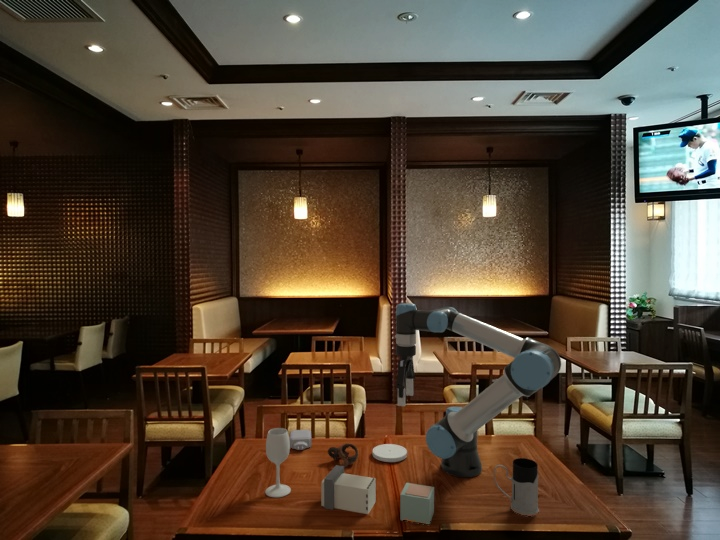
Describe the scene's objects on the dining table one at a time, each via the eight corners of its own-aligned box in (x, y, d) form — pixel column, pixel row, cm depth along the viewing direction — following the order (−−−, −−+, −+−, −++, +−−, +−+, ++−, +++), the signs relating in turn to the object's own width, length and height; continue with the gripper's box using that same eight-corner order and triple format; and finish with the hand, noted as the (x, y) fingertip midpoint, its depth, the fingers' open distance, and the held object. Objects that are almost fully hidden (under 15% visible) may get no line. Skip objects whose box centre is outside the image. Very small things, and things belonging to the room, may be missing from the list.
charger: (289, 455, 193) (289, 440, 208) (311, 454, 194) (310, 439, 209) (289, 443, 193) (289, 430, 208) (311, 442, 194) (310, 429, 209)
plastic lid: (410, 463, 186) (411, 457, 186) (376, 465, 184) (376, 459, 183) (402, 448, 200) (402, 443, 199) (369, 451, 197) (369, 445, 197)
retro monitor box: (433, 511, 150) (434, 486, 149) (429, 525, 142) (429, 498, 142) (406, 506, 153) (406, 482, 152) (400, 520, 145) (400, 493, 145)
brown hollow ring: (354, 456, 192) (360, 443, 189) (353, 476, 184) (359, 462, 180) (326, 450, 191) (331, 436, 187) (323, 470, 183) (329, 456, 179)
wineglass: (269, 500, 157) (269, 438, 156) (262, 488, 165) (261, 429, 164) (294, 494, 161) (294, 433, 161) (286, 483, 169) (285, 425, 168)
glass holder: (541, 517, 147) (542, 470, 146) (494, 513, 149) (495, 466, 149) (536, 503, 155) (536, 458, 155) (491, 499, 158) (492, 455, 157)
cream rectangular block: (376, 500, 157) (376, 471, 157) (367, 516, 147) (367, 485, 147) (332, 492, 162) (332, 464, 162) (319, 507, 152) (319, 478, 152)
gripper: (403, 338, 191) (403, 390, 191) (387, 350, 167) (387, 409, 168) (422, 339, 188) (421, 392, 189) (408, 351, 165) (408, 411, 165)
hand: (405, 400), depth 178 cm, fingers open, 13 cm apart
